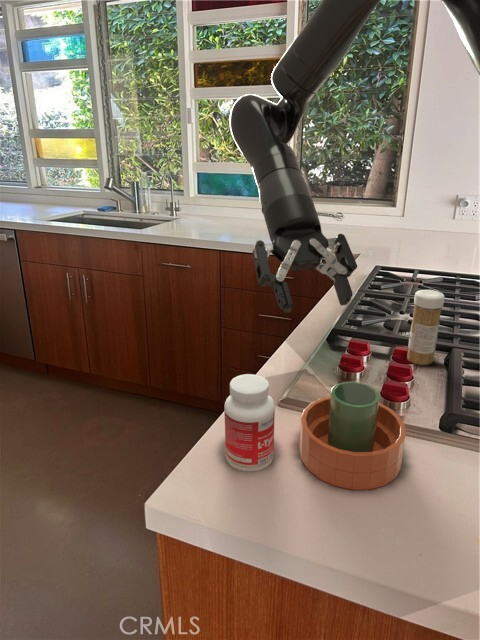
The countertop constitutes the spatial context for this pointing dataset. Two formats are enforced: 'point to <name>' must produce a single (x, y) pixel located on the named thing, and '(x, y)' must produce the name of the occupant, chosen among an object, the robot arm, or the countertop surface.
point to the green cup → (353, 417)
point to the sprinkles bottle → (424, 326)
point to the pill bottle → (249, 423)
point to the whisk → (331, 216)
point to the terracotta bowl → (348, 465)
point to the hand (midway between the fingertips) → (318, 306)
